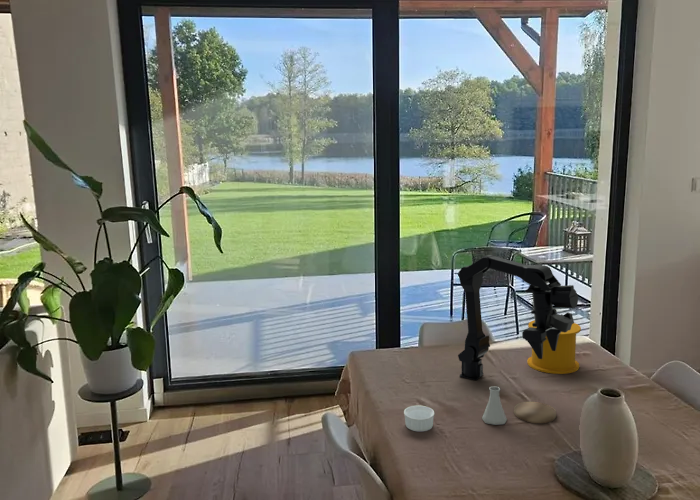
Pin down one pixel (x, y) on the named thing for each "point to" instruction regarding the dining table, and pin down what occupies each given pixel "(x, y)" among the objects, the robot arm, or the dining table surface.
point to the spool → (557, 353)
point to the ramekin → (419, 418)
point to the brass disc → (535, 412)
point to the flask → (494, 408)
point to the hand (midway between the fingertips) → (547, 354)
